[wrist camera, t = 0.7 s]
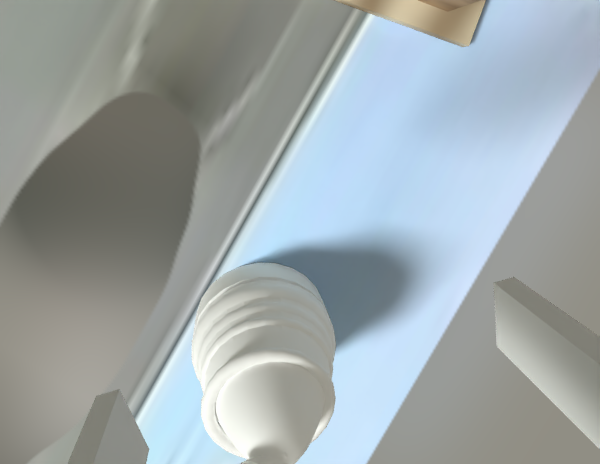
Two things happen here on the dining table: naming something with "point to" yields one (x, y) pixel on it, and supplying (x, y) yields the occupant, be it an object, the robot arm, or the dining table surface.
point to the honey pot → (264, 363)
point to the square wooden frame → (428, 16)
